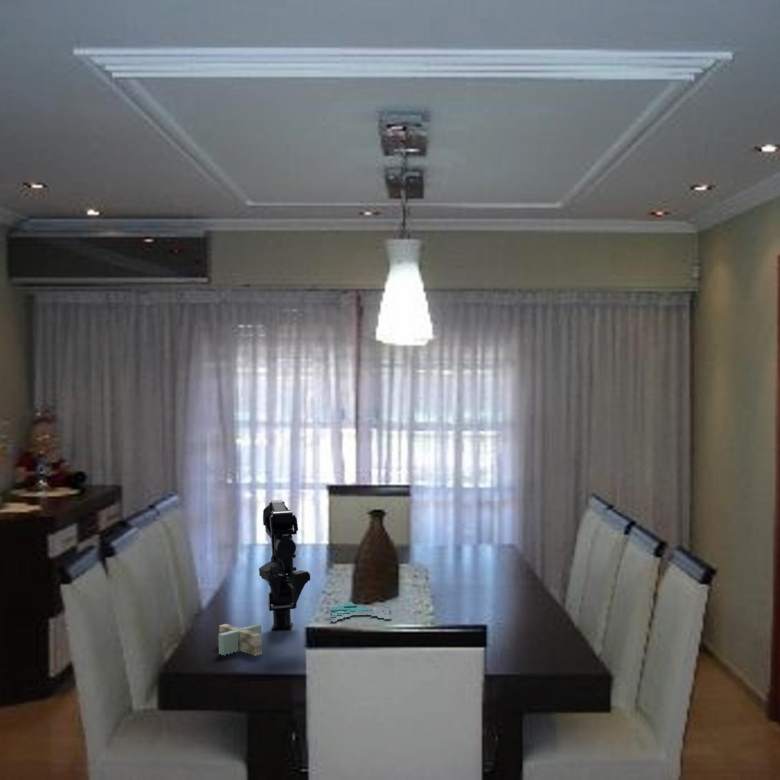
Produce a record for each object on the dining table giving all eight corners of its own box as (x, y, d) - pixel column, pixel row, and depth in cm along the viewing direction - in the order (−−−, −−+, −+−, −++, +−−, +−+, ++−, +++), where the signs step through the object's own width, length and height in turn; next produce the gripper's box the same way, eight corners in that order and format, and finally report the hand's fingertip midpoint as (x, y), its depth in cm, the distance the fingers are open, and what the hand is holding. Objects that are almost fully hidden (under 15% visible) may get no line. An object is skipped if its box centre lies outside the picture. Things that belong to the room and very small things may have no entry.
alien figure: (390, 621, 321) (388, 606, 341) (390, 614, 321) (388, 599, 341) (330, 623, 321) (331, 608, 341) (330, 617, 321) (331, 602, 341)
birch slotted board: (220, 644, 299) (219, 625, 299) (226, 643, 301) (225, 623, 300) (255, 656, 286) (254, 635, 286) (262, 654, 288) (261, 634, 288)
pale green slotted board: (223, 655, 288) (222, 635, 288) (218, 654, 289) (218, 634, 289) (261, 644, 297) (260, 625, 297) (256, 643, 299) (256, 624, 299)
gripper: (244, 552, 302) (246, 601, 303) (282, 559, 289) (283, 611, 290) (272, 546, 310) (274, 595, 311) (310, 553, 297) (312, 604, 297)
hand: (285, 601), depth 302 cm, fingers open, 9 cm apart
